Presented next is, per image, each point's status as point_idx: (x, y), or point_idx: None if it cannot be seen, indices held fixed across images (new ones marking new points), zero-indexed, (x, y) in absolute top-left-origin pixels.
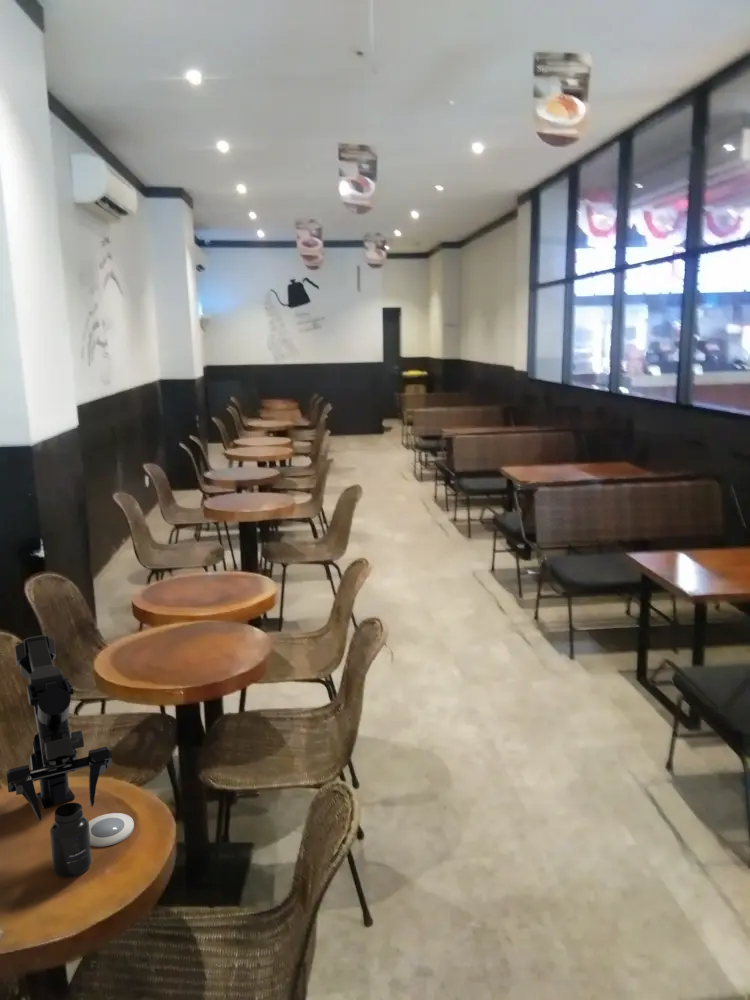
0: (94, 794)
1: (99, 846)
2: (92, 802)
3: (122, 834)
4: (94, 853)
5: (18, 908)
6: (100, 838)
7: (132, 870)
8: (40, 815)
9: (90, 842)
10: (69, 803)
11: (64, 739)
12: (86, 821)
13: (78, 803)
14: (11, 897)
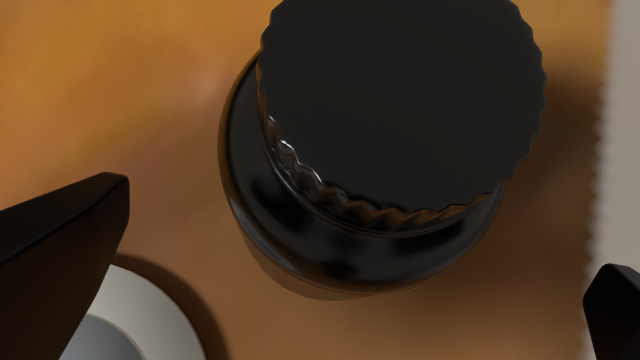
0: (22, 204)
1: (162, 291)
2: (102, 180)
3: None
4: (206, 251)
5: (572, 95)
6: (134, 327)
7: (121, 21)
8: (630, 279)
9: (192, 331)
10: (362, 174)
11: None
12: (243, 80)
13: (271, 114)
14: (590, 177)
